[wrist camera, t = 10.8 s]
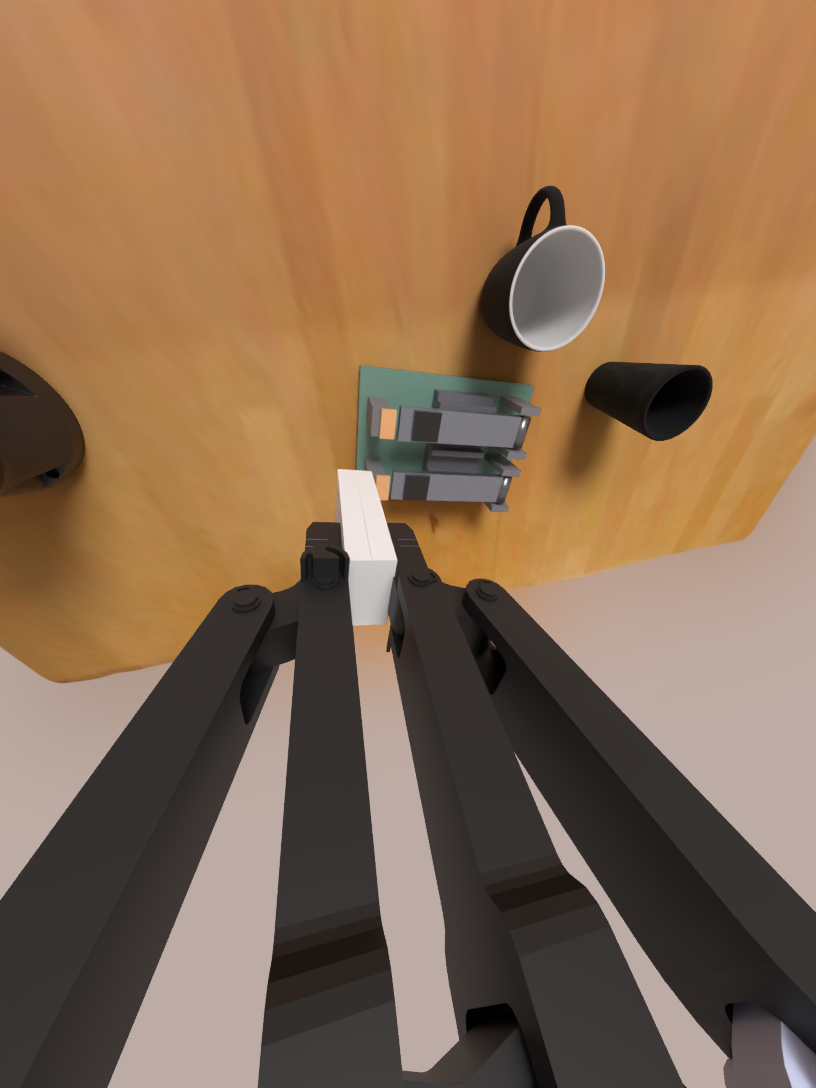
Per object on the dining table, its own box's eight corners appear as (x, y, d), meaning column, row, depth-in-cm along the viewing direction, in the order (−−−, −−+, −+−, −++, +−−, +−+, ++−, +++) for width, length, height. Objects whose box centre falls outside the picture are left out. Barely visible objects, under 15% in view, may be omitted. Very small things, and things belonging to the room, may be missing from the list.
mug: (538, 340, 41) (590, 348, 32) (468, 346, 39) (503, 356, 31) (560, 201, 33) (633, 167, 25) (475, 203, 32) (522, 168, 24)
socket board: (355, 490, 47) (358, 517, 41) (359, 365, 38) (364, 375, 32) (496, 495, 52) (518, 520, 46) (529, 384, 43) (561, 397, 37)
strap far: (389, 494, 43) (391, 500, 41) (392, 468, 41) (394, 473, 39) (501, 498, 46) (506, 503, 45) (509, 473, 44) (514, 479, 43)
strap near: (395, 437, 38) (398, 442, 37) (399, 404, 36) (402, 408, 35) (517, 444, 42) (524, 449, 41) (527, 415, 40) (534, 419, 39)
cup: (567, 406, 46) (629, 432, 36) (598, 344, 42) (677, 355, 32) (609, 419, 48) (678, 447, 39) (642, 362, 44) (728, 377, 35)
